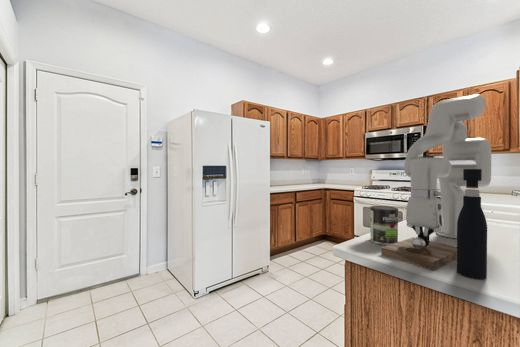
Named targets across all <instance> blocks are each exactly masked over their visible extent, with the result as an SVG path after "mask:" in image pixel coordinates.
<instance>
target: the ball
mask: <svg viewBox="0 0 520 347" xmlns="http://www.w3.org/2000/svg"><path fill="white" fill-rule="evenodd" d="M412 245H413V247H414V248H416V249H423V248H424V247H425V245H426V243H425V241H424V240H423V239H422V238H419V237H418V236H417V237H416V236H415V237H414V239H413V240H412Z"/></svg>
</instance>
